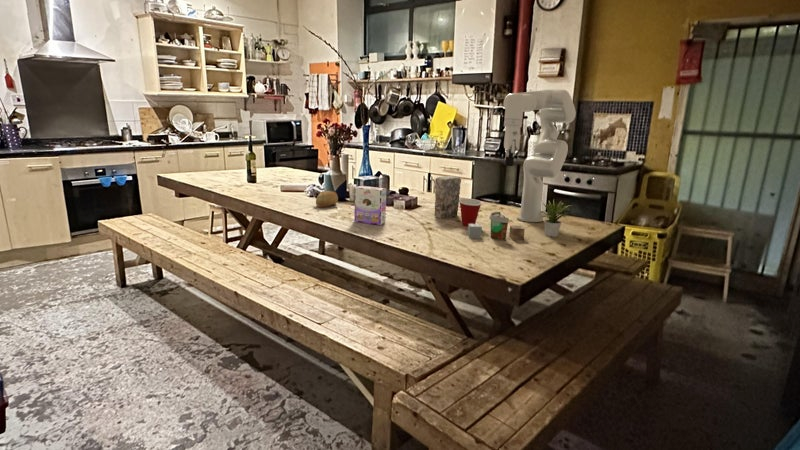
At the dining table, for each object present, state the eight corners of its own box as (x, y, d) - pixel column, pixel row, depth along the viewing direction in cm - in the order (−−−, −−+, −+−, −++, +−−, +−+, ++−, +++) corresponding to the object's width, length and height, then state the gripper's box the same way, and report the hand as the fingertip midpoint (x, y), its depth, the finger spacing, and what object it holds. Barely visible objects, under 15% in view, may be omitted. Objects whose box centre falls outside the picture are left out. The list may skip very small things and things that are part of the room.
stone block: (443, 219, 224) (446, 178, 219) (432, 216, 228) (434, 177, 223) (459, 215, 233) (462, 176, 228) (448, 213, 238) (451, 175, 233)
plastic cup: (465, 229, 206) (467, 203, 203) (452, 224, 216) (454, 199, 213) (485, 227, 211) (487, 202, 208) (471, 222, 220) (473, 197, 217)
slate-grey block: (479, 235, 198) (479, 223, 197) (480, 238, 194) (481, 226, 192) (467, 234, 198) (468, 223, 197) (469, 238, 194) (470, 226, 192)
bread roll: (342, 204, 249) (342, 190, 247) (327, 209, 236) (327, 194, 234) (327, 202, 253) (327, 188, 251) (311, 207, 240) (311, 192, 238)
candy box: (386, 223, 212) (387, 188, 208) (380, 225, 207) (381, 189, 203) (360, 219, 218) (360, 185, 214) (353, 221, 213) (354, 186, 209)
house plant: (564, 242, 192) (569, 204, 188) (531, 236, 199) (535, 199, 195) (571, 235, 204) (576, 199, 200) (540, 230, 211) (544, 195, 207)
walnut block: (520, 237, 198) (521, 225, 197) (523, 240, 193) (524, 228, 192) (509, 236, 198) (510, 225, 197) (511, 239, 193) (512, 227, 192)
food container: (484, 233, 202) (486, 211, 199) (498, 233, 202) (500, 211, 200) (492, 241, 190) (494, 217, 187) (506, 241, 190) (509, 218, 188)
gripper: (526, 124, 190) (521, 168, 195) (517, 123, 205) (513, 164, 209) (507, 123, 190) (503, 167, 195) (500, 122, 205) (497, 163, 210)
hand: (508, 165), depth 202 cm, fingers closed
